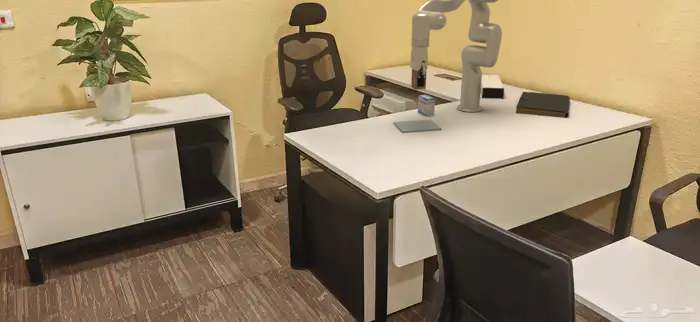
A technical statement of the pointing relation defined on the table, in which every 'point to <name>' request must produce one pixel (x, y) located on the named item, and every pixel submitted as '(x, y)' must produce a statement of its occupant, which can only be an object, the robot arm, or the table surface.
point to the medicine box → (426, 105)
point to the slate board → (416, 126)
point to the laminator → (492, 87)
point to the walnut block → (414, 80)
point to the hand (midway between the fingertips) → (418, 84)
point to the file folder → (543, 104)
